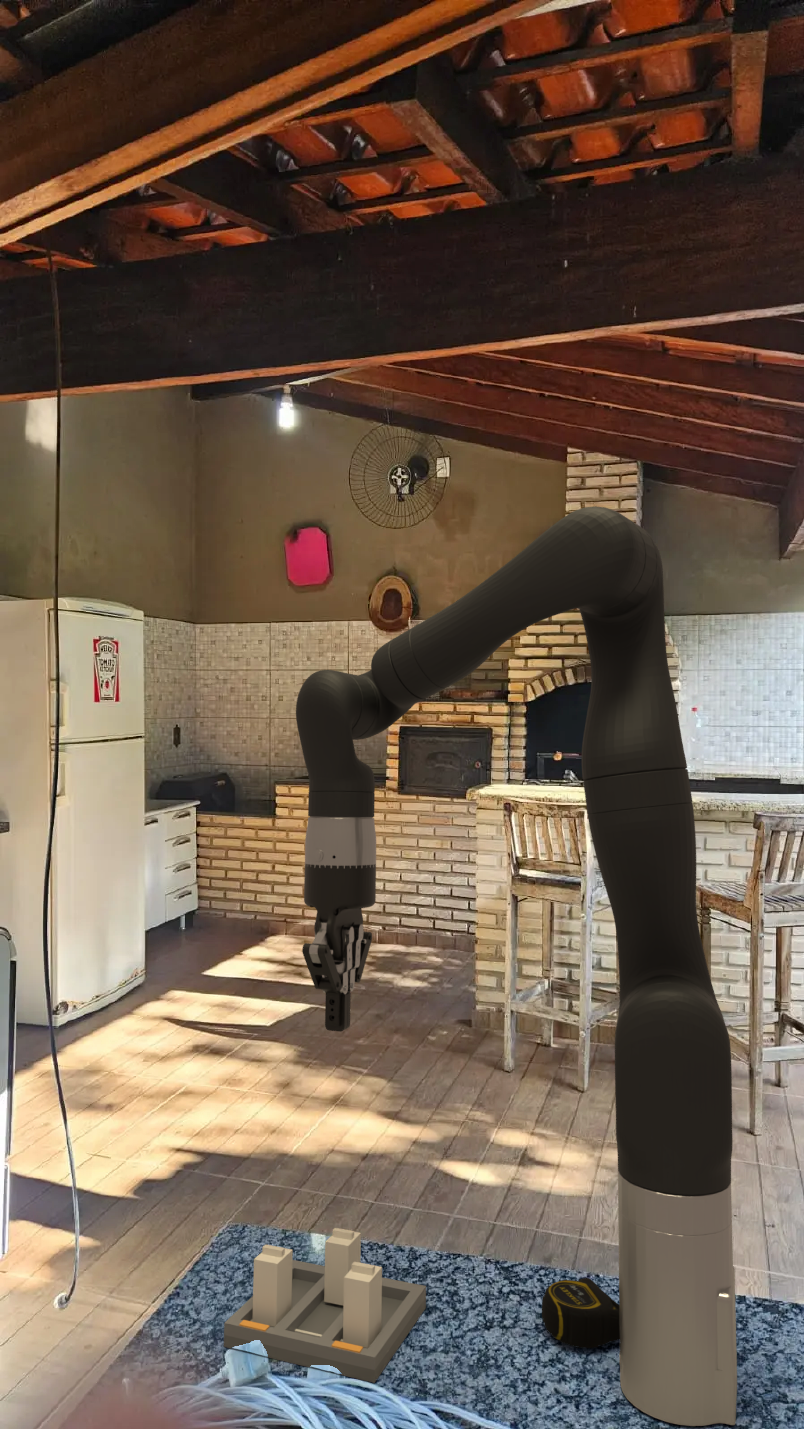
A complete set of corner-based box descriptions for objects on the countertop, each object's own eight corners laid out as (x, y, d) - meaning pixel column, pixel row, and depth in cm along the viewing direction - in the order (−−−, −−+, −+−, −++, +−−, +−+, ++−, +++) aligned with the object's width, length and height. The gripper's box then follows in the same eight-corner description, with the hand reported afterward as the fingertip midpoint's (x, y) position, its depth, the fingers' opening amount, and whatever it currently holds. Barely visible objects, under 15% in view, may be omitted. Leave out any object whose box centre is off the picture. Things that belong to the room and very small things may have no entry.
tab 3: (291, 1310, 88) (292, 1242, 89) (275, 1327, 86) (277, 1256, 86) (268, 1305, 89) (270, 1238, 90) (252, 1321, 87) (254, 1252, 87)
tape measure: (632, 1350, 85) (631, 1306, 86) (563, 1363, 83) (563, 1317, 84) (594, 1312, 92) (594, 1271, 92) (529, 1323, 90) (529, 1280, 90)
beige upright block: (360, 1291, 92) (361, 1226, 93) (347, 1306, 89) (348, 1239, 90) (337, 1286, 93) (338, 1222, 94) (324, 1301, 90) (325, 1234, 91)
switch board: (425, 1307, 92) (426, 1284, 92) (374, 1382, 80) (374, 1355, 80) (291, 1280, 97) (291, 1258, 97) (223, 1346, 85) (224, 1321, 85)
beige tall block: (381, 1330, 85) (382, 1260, 86) (368, 1348, 82) (369, 1274, 83) (356, 1325, 86) (357, 1255, 87) (342, 1342, 83) (344, 1270, 84)
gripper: (347, 864, 93) (344, 1047, 91) (396, 858, 105) (394, 1019, 104) (279, 862, 96) (275, 1040, 94) (334, 857, 108) (331, 1013, 106)
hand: (337, 1029), depth 99 cm, fingers closed
